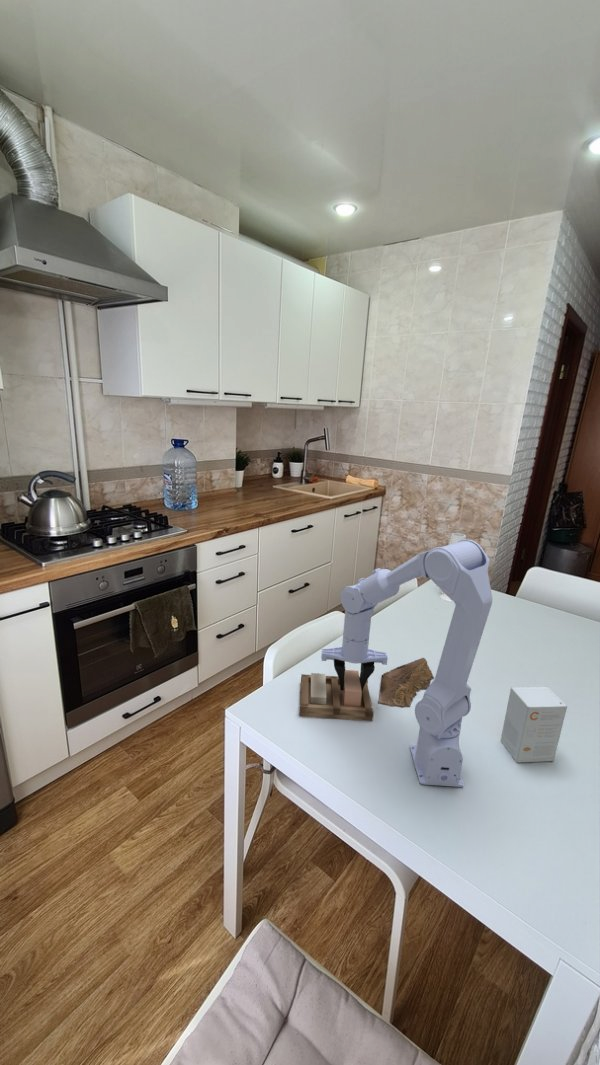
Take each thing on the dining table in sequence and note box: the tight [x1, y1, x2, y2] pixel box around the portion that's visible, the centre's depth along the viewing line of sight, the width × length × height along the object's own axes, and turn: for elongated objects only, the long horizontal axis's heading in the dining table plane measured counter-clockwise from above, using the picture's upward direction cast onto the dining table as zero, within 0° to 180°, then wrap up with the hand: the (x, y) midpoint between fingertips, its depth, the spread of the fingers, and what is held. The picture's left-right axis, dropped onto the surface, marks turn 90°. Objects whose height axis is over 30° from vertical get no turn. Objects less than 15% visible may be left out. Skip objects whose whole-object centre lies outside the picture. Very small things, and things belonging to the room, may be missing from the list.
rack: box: [299, 672, 375, 722], centre depth 103 cm, size 16×12×4 cm
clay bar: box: [342, 669, 362, 707], centre depth 102 cm, size 8×4×5 cm, turn 178°
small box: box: [500, 686, 568, 763], centre depth 89 cm, size 8×6×13 cm
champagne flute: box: [439, 532, 467, 603], centre depth 160 cm, size 7×7×24 cm
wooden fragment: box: [377, 657, 435, 708], centre depth 112 cm, size 26×11×1 cm, turn 140°
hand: (351, 688), depth 102 cm, fingers open, 4 cm apart
